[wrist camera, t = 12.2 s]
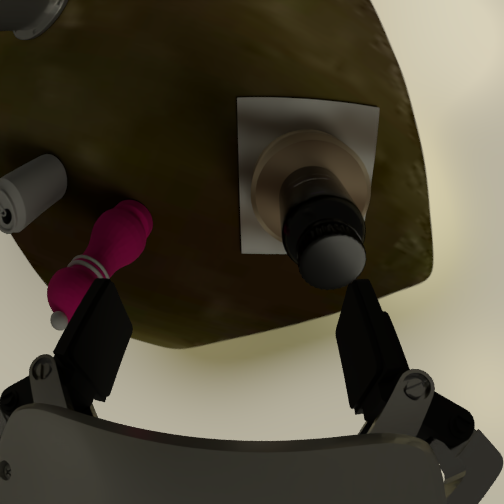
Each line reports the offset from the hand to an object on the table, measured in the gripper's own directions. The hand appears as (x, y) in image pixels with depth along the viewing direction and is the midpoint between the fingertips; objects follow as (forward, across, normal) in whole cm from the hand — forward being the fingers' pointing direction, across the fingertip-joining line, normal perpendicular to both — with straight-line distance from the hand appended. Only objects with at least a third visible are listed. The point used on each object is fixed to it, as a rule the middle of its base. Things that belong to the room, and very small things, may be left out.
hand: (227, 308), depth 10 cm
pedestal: (+24, -7, +4) cm, 25 cm away
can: (+24, +29, 0) cm, 38 cm away
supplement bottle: (+19, -6, +3) cm, 21 cm away
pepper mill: (+24, +16, +8) cm, 30 cm away
